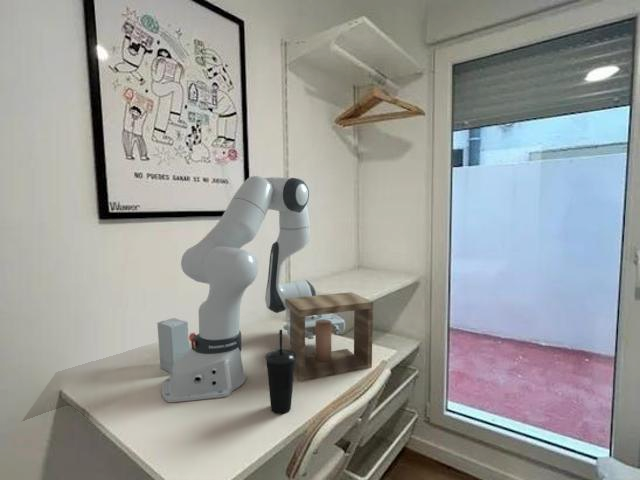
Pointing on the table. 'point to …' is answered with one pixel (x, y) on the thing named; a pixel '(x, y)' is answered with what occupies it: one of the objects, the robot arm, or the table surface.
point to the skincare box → (172, 341)
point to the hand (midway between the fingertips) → (325, 334)
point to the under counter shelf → (340, 359)
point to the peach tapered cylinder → (323, 340)
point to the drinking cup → (280, 377)
